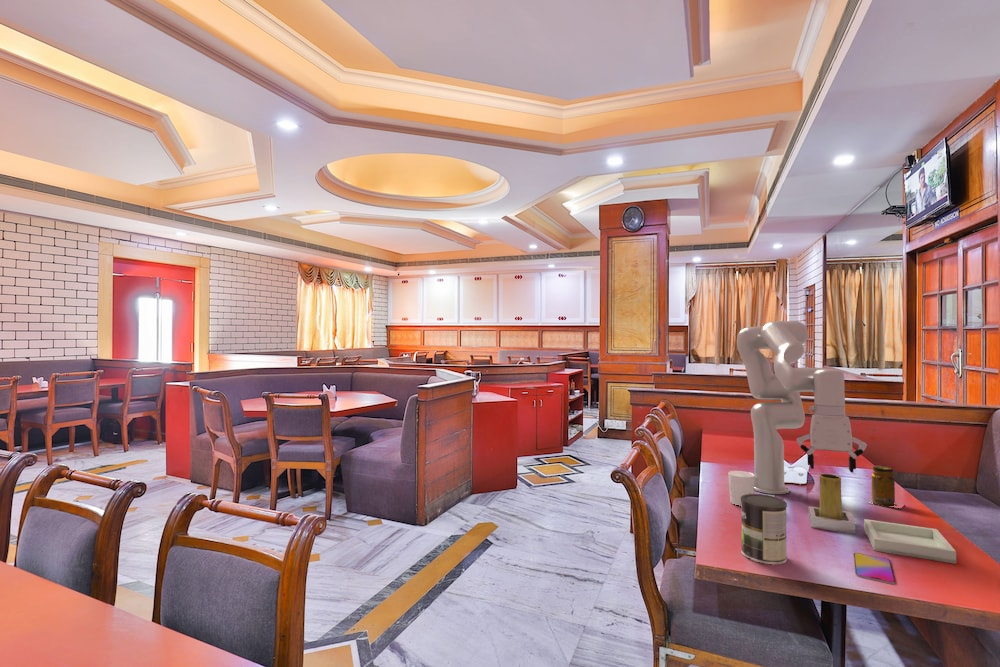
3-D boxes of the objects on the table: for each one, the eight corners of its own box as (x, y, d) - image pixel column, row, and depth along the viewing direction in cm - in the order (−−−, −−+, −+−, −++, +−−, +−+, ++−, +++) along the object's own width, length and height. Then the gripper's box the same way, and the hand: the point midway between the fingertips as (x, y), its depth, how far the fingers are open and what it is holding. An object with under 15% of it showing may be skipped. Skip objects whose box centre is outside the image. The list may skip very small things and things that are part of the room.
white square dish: (811, 527, 143) (811, 516, 143) (808, 516, 152) (808, 506, 152) (855, 534, 138) (854, 523, 138) (849, 521, 147) (849, 511, 147)
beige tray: (874, 550, 127) (874, 538, 127) (864, 529, 141) (864, 519, 141) (956, 563, 120) (956, 551, 120) (936, 540, 134) (936, 529, 134)
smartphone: (889, 559, 122) (896, 583, 110) (890, 561, 122) (896, 586, 110) (853, 552, 126) (855, 574, 114) (853, 554, 126) (855, 577, 114)
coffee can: (739, 559, 123) (739, 502, 123) (742, 544, 132) (742, 491, 132) (787, 568, 118) (786, 509, 118) (787, 552, 126) (787, 497, 127)
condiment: (874, 499, 169) (873, 463, 169) (905, 505, 162) (905, 468, 162) (867, 503, 164) (867, 467, 164) (899, 510, 157) (899, 472, 157)
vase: (835, 530, 141) (835, 480, 141) (813, 523, 147) (813, 474, 147) (847, 526, 144) (847, 477, 144) (825, 519, 149) (825, 472, 150)
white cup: (729, 506, 162) (728, 475, 162) (727, 499, 169) (727, 469, 169) (756, 509, 159) (755, 478, 159) (753, 501, 166) (753, 471, 166)
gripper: (796, 410, 146) (797, 469, 146) (868, 414, 138) (870, 476, 138) (795, 408, 153) (796, 464, 152) (863, 411, 145) (865, 470, 144)
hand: (831, 469), depth 145 cm, fingers open, 9 cm apart
